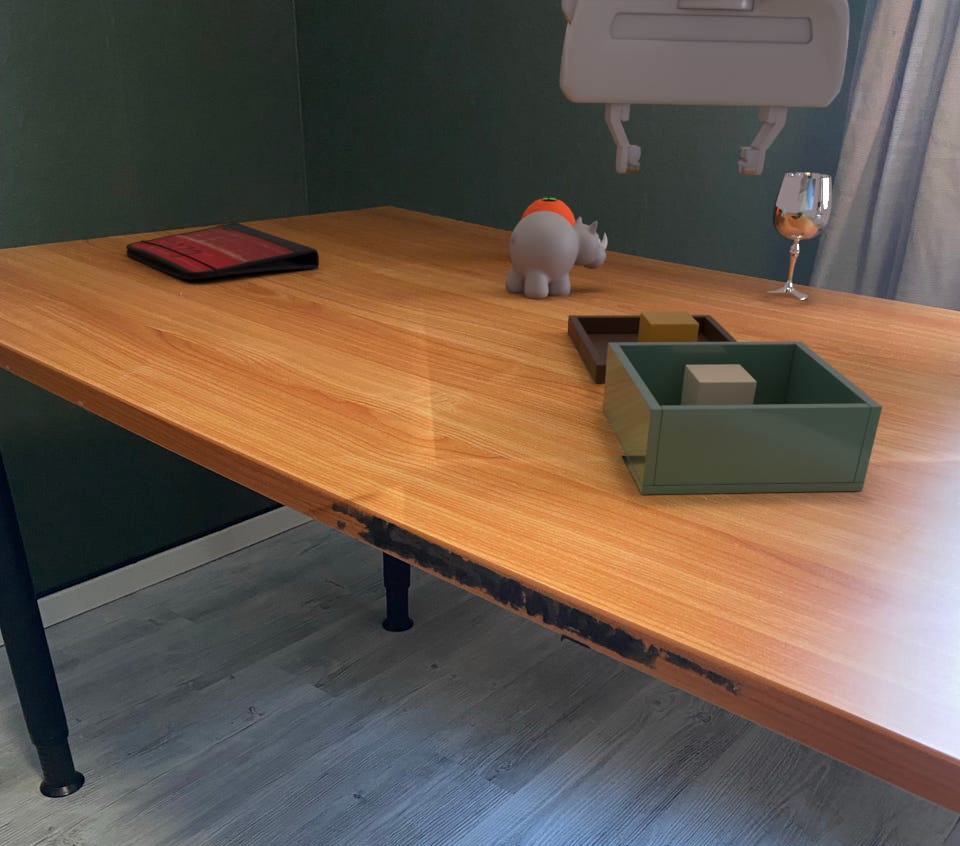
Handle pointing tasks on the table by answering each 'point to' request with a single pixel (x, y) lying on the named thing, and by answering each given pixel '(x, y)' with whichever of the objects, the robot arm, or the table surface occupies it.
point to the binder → (222, 252)
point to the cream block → (717, 385)
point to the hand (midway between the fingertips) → (688, 173)
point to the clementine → (551, 208)
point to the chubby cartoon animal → (551, 254)
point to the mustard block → (667, 327)
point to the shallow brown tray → (623, 336)
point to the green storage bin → (738, 420)
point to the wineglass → (801, 214)
